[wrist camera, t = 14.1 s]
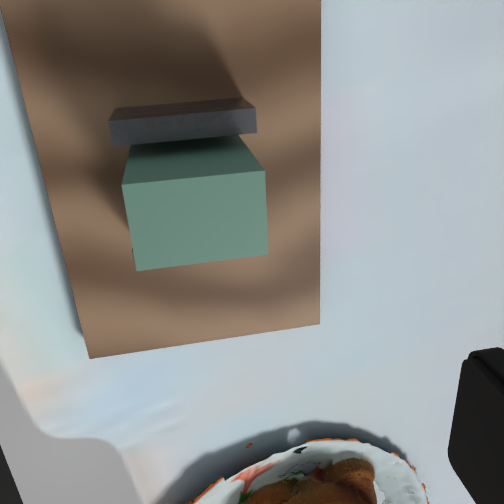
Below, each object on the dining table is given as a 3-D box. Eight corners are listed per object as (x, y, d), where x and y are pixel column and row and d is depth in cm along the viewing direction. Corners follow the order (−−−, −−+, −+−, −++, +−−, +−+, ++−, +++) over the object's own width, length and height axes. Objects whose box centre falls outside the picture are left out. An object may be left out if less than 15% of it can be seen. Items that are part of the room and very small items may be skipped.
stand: (-8, -61, 23) (-53, -84, 18) (312, -73, 25) (349, -97, 20) (92, 345, 34) (80, 400, 29) (313, 312, 36) (338, 358, 31)
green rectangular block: (131, 142, 27) (121, 184, 20) (237, 133, 28) (265, 170, 20) (142, 210, 29) (136, 271, 21) (241, 199, 29) (268, 254, 22)
